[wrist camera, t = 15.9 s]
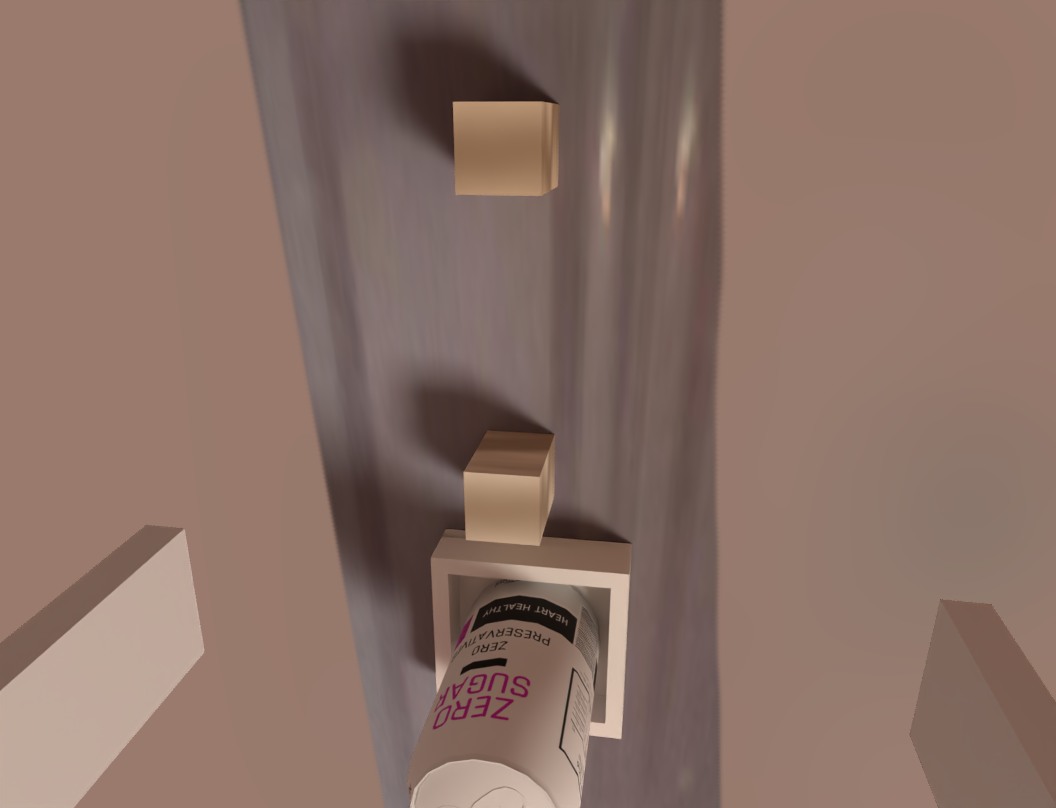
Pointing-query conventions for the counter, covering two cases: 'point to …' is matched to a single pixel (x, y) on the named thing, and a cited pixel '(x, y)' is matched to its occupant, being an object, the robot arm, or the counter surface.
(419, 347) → the counter surface
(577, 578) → the off-white tray
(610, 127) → the counter surface
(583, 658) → the supplement can
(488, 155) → the maple block
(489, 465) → the birch block
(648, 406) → the counter surface
